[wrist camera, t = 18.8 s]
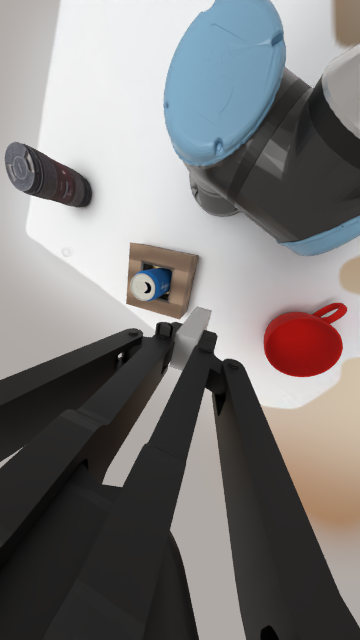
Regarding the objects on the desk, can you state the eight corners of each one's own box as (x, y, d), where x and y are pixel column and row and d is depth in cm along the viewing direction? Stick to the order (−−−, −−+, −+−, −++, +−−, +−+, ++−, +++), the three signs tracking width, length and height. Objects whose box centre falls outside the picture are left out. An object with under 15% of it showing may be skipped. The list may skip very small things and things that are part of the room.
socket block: (143, 244, 47) (130, 242, 41) (198, 255, 44) (192, 256, 38) (138, 298, 53) (126, 303, 47) (186, 311, 50) (179, 319, 44)
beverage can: (173, 294, 48) (155, 305, 37) (152, 289, 49) (127, 299, 38) (177, 269, 45) (158, 274, 35) (154, 264, 47) (129, 268, 36)
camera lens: (86, 167, 45) (21, 130, 31) (98, 202, 47) (42, 182, 33) (64, 181, 48) (-5, 152, 34) (76, 214, 50) (16, 199, 36)
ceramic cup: (351, 314, 39) (385, 332, 30) (288, 362, 46) (301, 388, 37) (302, 278, 39) (321, 285, 30) (248, 331, 47) (250, 350, 38)
